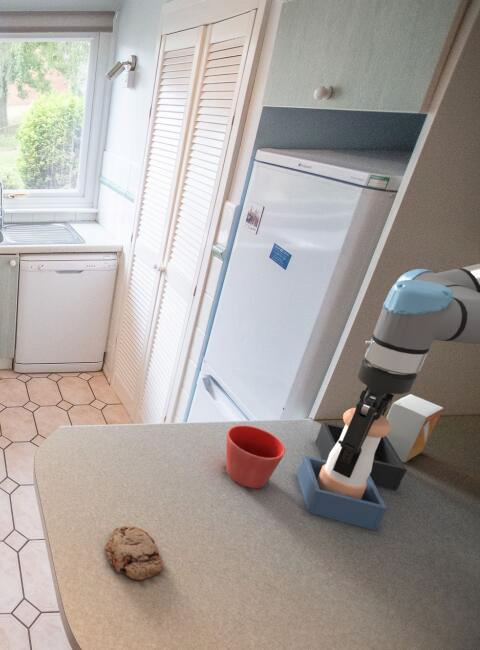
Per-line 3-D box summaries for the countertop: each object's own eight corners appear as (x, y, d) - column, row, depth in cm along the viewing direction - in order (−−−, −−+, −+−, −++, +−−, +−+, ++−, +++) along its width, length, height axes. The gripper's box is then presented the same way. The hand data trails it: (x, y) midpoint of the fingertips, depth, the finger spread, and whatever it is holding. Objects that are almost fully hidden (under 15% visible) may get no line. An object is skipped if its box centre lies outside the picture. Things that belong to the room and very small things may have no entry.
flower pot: (225, 489, 97) (236, 453, 93) (213, 455, 107) (222, 421, 103) (281, 498, 95) (294, 462, 91) (263, 462, 105) (274, 428, 101)
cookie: (155, 534, 87) (157, 523, 86) (166, 586, 77) (169, 574, 76) (101, 527, 89) (103, 516, 87) (106, 577, 79) (108, 565, 78)
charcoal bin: (377, 454, 107) (385, 435, 104) (396, 490, 97) (406, 469, 94) (315, 441, 111) (322, 422, 109) (328, 474, 101) (336, 453, 99)
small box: (405, 463, 104) (427, 417, 99) (372, 447, 109) (392, 402, 104) (422, 453, 107) (444, 407, 102) (390, 437, 112) (409, 393, 107)
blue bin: (358, 491, 97) (367, 469, 94) (376, 531, 87) (387, 508, 85) (296, 475, 101) (304, 455, 98) (307, 512, 91) (316, 490, 89)
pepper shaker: (331, 471, 97) (361, 396, 89) (369, 495, 91) (406, 417, 83) (308, 481, 94) (338, 404, 87) (346, 506, 88) (382, 426, 81)
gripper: (381, 342, 89) (343, 436, 98) (345, 373, 79) (306, 475, 88) (432, 357, 84) (387, 455, 93) (401, 393, 73) (354, 499, 82)
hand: (348, 465), depth 90 cm, fingers closed on pepper shaker, 7 cm apart
